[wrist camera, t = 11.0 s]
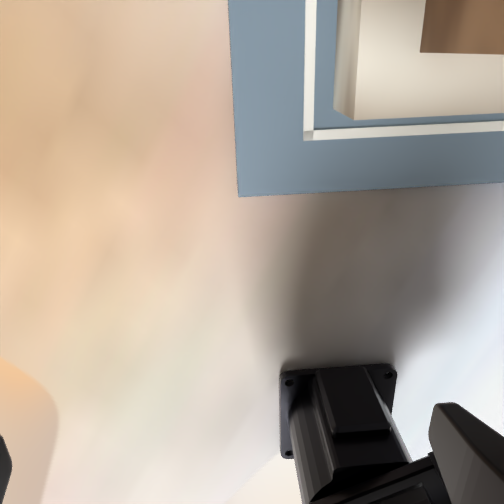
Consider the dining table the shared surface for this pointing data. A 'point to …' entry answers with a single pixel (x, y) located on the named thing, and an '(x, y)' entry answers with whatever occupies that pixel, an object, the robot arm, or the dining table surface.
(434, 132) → the board
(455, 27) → the walnut cube
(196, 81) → the dining table surface
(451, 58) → the plinth
